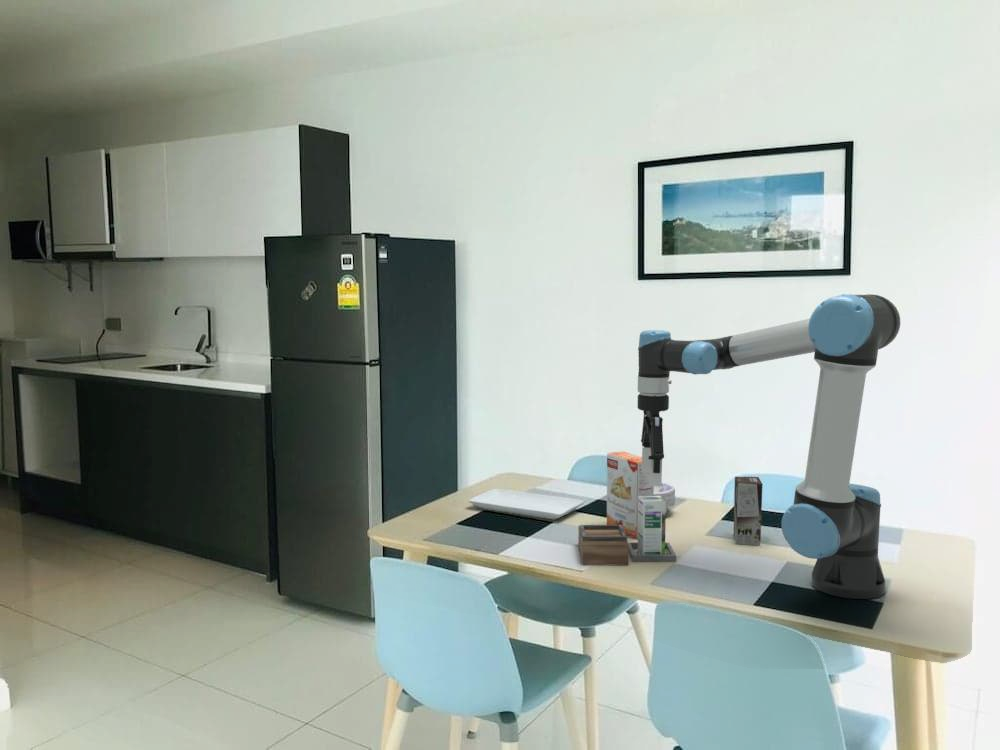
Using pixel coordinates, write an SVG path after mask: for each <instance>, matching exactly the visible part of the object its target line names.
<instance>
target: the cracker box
mask: <svg viewBox="0 0 1000 750" xmlns="http://www.w3.org/2000/svg"><path fill="white" fill-rule="evenodd" d="M606 456H607V457H606V525H622V527H623V529H624V532H625V534H626V536H630V537H631V538H633V539H635V538H636V539H635V540H638V497H639V496H653V495H654V486H650V473H642V456H639V455H636V454H633V453H630V452H626V451H615V452H613V451H612V452H609V453H608V452H607V453H606Z"/></svg>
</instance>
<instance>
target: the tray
mask: <svg viewBox="0 0 1000 750" xmlns="http://www.w3.org/2000/svg"><path fill="white" fill-rule="evenodd" d="M467 502H469V504H472V505H474V506H476V507H478V508H480V509H481V508H483V509H482V510H486V509H490V510H489V511H492V510H496V511H495V512H499V511H502V512H501V513H505V512H508V513H507V514H512V513H515V514H514V515H518V514H522V515H521V516H524V515H527V516H526V517H531V516H533V517H532V518H537V517H539V518H538V519H543V518H546V519H545V520H549V519H552V520H551V521H555V520H556V519H557V520H558V518H559V519H561V518H562V516H563V517H564V515H565V516H567V515H568V514H570V513H572V511H575V510H576V509H578V508H579V507H581V506H583V505H584V503H585V501H584V500H581V499H577V498H572V497H571V498H570V497H564V496H563V497H562V496H557V495H550V494H549V495H548V494H539V493H535V492H534V493H532V492H527V491H518V490H512V489H511V490H510V489H505V488H498V487H497V488H492V489H490V490H488V491H486V492H484V493H481V494H479V495H476V496H474V497H470V499H468V500H467ZM569 512H570V513H569ZM560 517H561V518H560Z"/></svg>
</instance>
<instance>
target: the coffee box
mask: <svg viewBox="0 0 1000 750" xmlns="http://www.w3.org/2000/svg"><path fill="white" fill-rule="evenodd" d="M733 491H734V496H733V497H734V499H733V537H734V541H735V544H736V545H752V546H761V536H762V509H763V507H762V506H763V482H762V480H761V479H760V477H759V476H734V490H733Z"/></svg>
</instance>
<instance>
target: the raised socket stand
mask: <svg viewBox="0 0 1000 750" xmlns="http://www.w3.org/2000/svg"><path fill="white" fill-rule="evenodd" d="M577 538H578V540H577V541H578V549H579V554H580V559H581V565H582V566H589V565H588V564H593V565H592V566H601V565H600V564H617V565H616V566H629V565H630V564H629V563H630V562H629V561H630V560H629V557H630V554H629V544H628V542H629V541H628V538H627V534H625V532H624V529H623V527H622V525H607V524H580V525H578V537H577ZM595 564H596V565H595ZM618 564H620V565H618ZM622 564H623V565H622Z"/></svg>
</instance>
